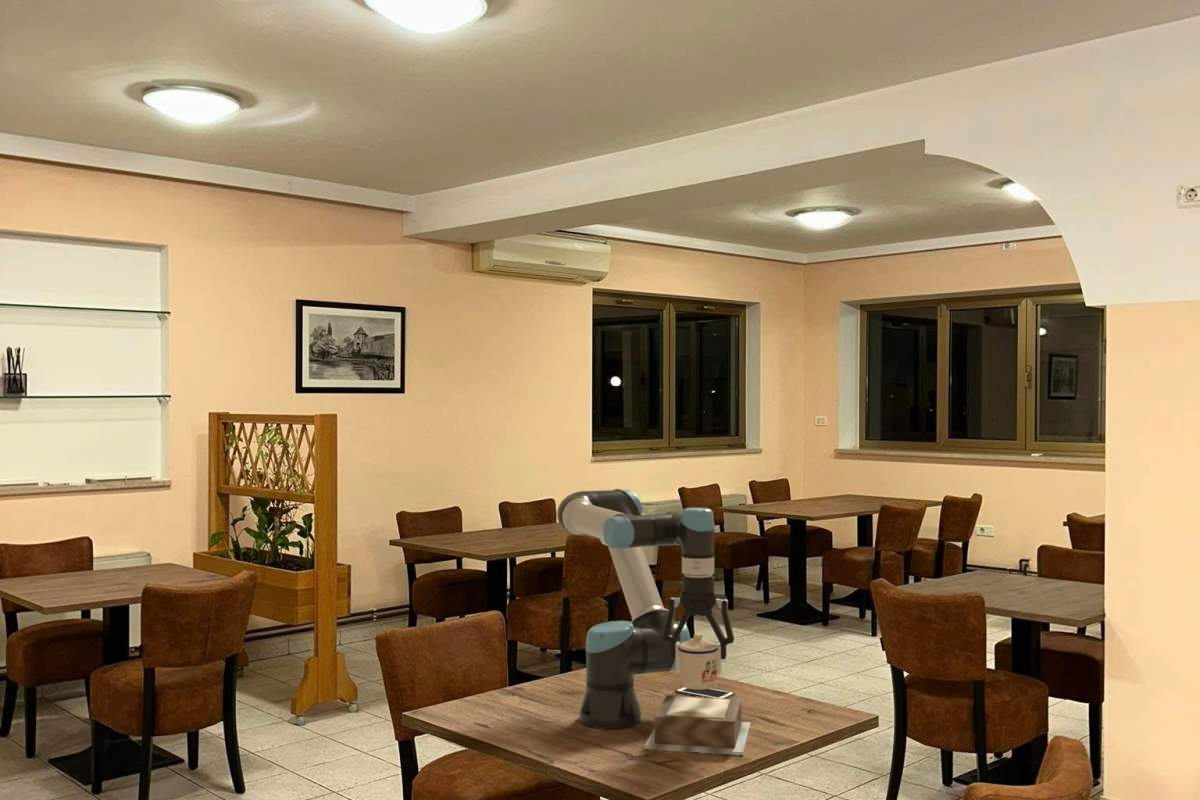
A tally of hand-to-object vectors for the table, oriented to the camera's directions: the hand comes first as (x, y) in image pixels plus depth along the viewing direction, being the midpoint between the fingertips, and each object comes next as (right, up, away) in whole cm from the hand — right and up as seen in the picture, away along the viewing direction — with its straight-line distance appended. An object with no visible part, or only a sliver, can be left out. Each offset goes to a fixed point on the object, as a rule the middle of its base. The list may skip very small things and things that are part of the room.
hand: (698, 672), depth 244 cm
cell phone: (+5, -16, +37) cm, 40 cm away
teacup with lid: (+1, -3, 0) cm, 3 cm away
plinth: (0, -15, 0) cm, 15 cm away
